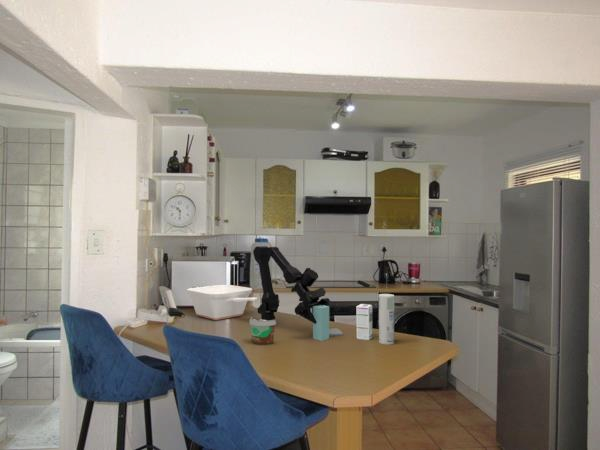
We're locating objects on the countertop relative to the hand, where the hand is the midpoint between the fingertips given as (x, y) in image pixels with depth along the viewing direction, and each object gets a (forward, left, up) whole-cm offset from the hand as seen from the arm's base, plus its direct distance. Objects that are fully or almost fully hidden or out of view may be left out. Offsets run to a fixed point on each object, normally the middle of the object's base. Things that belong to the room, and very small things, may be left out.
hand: (323, 321), depth 180 cm
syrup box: (+18, -1, -8) cm, 20 cm away
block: (-1, +1, -7) cm, 8 cm away
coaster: (+5, +10, -7) cm, 13 cm away
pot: (-41, +48, -8) cm, 63 cm away
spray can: (+25, -9, -8) cm, 28 cm away
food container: (-28, -3, -8) cm, 29 cm away
